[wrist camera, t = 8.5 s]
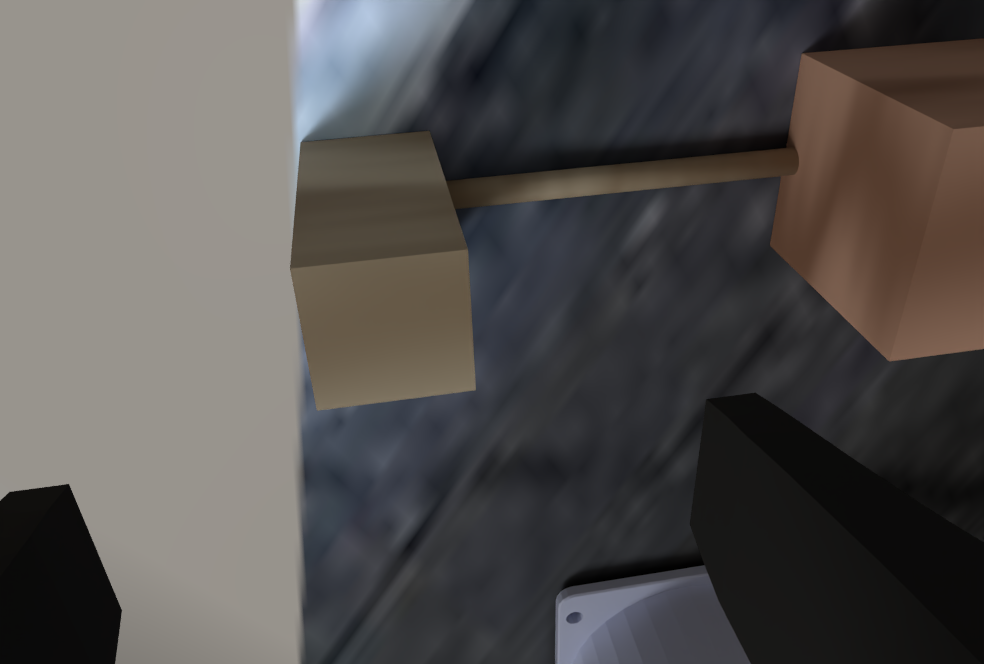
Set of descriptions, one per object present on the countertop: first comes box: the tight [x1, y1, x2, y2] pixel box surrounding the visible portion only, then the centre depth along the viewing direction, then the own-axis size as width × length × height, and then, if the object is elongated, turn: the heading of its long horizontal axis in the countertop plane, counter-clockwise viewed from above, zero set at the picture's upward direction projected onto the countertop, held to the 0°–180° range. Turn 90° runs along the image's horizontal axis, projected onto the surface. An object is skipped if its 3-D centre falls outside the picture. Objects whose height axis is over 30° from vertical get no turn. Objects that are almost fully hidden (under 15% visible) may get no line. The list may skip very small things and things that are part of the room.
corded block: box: [290, 38, 984, 411], centre depth 16 cm, size 4×15×6 cm, turn 92°
